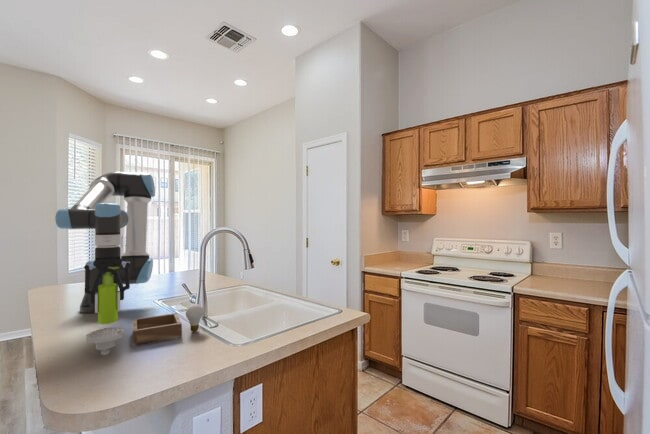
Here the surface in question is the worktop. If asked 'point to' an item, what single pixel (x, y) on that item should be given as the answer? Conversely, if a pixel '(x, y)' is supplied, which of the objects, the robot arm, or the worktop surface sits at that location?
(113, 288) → the soap dispenser
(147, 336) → the wooden box
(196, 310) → the light bulb
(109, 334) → the showerhead
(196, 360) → the worktop surface
